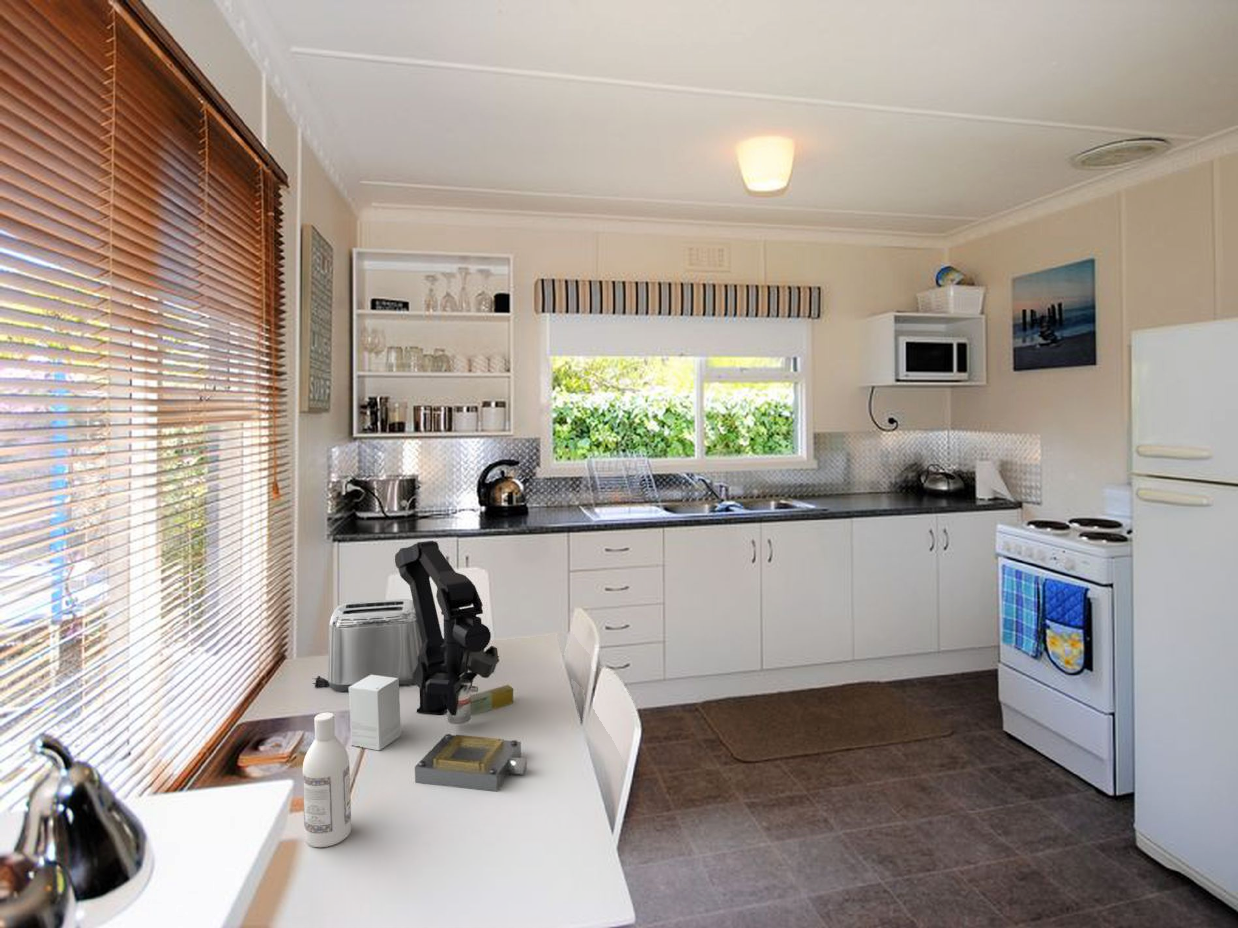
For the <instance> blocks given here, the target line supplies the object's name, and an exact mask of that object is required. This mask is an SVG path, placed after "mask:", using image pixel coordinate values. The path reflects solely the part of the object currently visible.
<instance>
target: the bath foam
mask: <svg viewBox="0 0 1238 928" xmlns="http://www.w3.org/2000/svg"><path fill="white" fill-rule="evenodd" d="M313 719H314V740H313V742H312V743H311V745H310V747H309V748H308V750H307V752H306V754H305V756H304V758H303V763H302V770H301V771H302V774H301V775H302V799H303V801H302V802H303V824H304V826H303V827H304V839H305V842H306V844H308V845H309V846H310V847H315V848H325V847H326V848H327V847H330V846H334V845H337V844H339V843H341V842H342V841H344V840H345V839H346V838H347V837H348V836H349V835H350V833H351V830H352V807H351V806H352V804H351V776H350V775H351V773H350V760H349V759H350V758H349V755H348V751H347V749H346V747H345V746H344V744H343V743H342V742H341V740H339V739H338V737H337V736H336V735H335V734H336V733H335V732H336V731H335V729H336V727H335V714H334V713H332V712H328V711H327V712H321V713H319V714H316V716H315V717H314V718H313Z"/></svg>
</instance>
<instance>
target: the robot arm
mask: <svg viewBox="0 0 1238 928" xmlns="http://www.w3.org/2000/svg"><path fill="white" fill-rule="evenodd" d="M394 564H395V567H396V568H397V569H398V572H399V576H400V578H401V579H402V580H404V581H405V583H406V584H408V585H409V589H410V594H411V600H412V601H413V604H414V608H415V613H416V618H417V623H418V627H419V632H420V637H421V641H422V646H421V649H420V652H419V655H418V665H417V667H416V669H415V671H414V673H413V681H414V684H413V685H415V686H416V687H418V688H419V707H418V708H417V709H416V713H419V714H420V713H421V714H430V715H431V714H432V715H444V714H445V713H446V711H447V709H448V711H449V712H450V714H451V715H454V716H455V715H456V714H457V707H458V698H459V692H460V691H461V690H462V689H463V688H464V687H465V685H461V679H468V680H470V683H471V686H473V682H474V679H475V678H476V677H477V676H478V675H479V676H480V677H481V678H484V679H488V678H489V677H490V676H491V675H492V674H494V673H495V670H496V667H497V664H498V663H499V662H500V658H499V657H500V656H499V653H498V648H497V647H496V646H493V645H491V646H489V644H490V642H491V639H492V638H491V637H492V634H491V630H490V629H489V627H488V626H487V625H485V624H484V623H482V617H480V616H478V615H483V613H484V611H483V603H482V600H481V598H480V595H479V592H478V590H477V588H476V586H475V584H474V583H473V582H472V580H471V579H469V578H468V577H467V575H465V574H461V573H459V572H457V571H456V570H455V569H454V568H453V567H452V566H451V564H450V562H449V561H448V560H447V558H446V557H445V555H444V554H443V553H442V551H441V549H440V547H439V544H438V541H435V540H426V541H418V542H417V543H414V544H413V545H411V546H408V547H401V548H400V549H399V550H398V552H397V553H395V556H394ZM430 579H431V580H432V581H433V583H434V585H435V586H436V594H435V595H436V596H435V597H436V600H437V604H438V606H439V608H440V610H441V611H440V612H441V616H443V634H442V630H441V626H440V620H439V616H438V611H437V607H436V603H435V599H434V598H435V597H434V593H433V589H432V583H431V580H430ZM488 646H489V647H488ZM487 647H488V648H487ZM486 648H487V649H486Z"/></svg>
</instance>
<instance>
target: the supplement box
mask: <svg viewBox="0 0 1238 928" xmlns="http://www.w3.org/2000/svg"><path fill="white" fill-rule="evenodd" d="M348 688H349V691H348V704H349V707H348V708H349V728H350V745H357V746H360V747H359V748H362V747H363V749H369V750H374V751H375V750H376V751H381V750H382V749H384V748H385V747H387V746H388V745H389V744H392V742H394V741H395V740H396V739H398V738H399V737H401V735H402V731H401V708H400V707H401V704H400V684H399V678H393V677H385V676H378V675H370V676H368V677H366V678H364V679H362V680H360V681H359V682H357V683H355V684H353V685H352V686H350V687H348Z"/></svg>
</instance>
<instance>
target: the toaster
mask: <svg viewBox="0 0 1238 928" xmlns="http://www.w3.org/2000/svg"><path fill="white" fill-rule="evenodd" d="M331 614H332V615H331V616H330V621H329V624H328V660H327V661H328V667H327V669H328V670H327V672H328V673H327V678H324V677H321V676H320V675H318V676H317V677H312V680H315V682H312V685H314V688H317V687H321V688H323V687H330V689H332V690H333V691H338V692H340V693H341V692H349V688H348V687H350V686H352V685H353V684H355V683H357V682H359V681H360V680H362V679H364V678H366V677H368V676H370V675H378V676H385V677H393V678H399V685H402V686H403V685H404V686H409V685H415V684H414V681H413V673H414V671H415V669H416V667H417V665H418V655H419V652H420V649H421V646H422V641H421V637H420V632H419V627H418V623H417V618H416V613H415V608H414V604H413V599H408V598H399V599H398V598H397V599H396V598H395V599H381V600H379V599H378V600H369V601H368V600H367V601H357V602H355V601H354V602H345V603H341V604H339V605H337V607H336V608H334V611H333V612H332V613H331Z"/></svg>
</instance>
